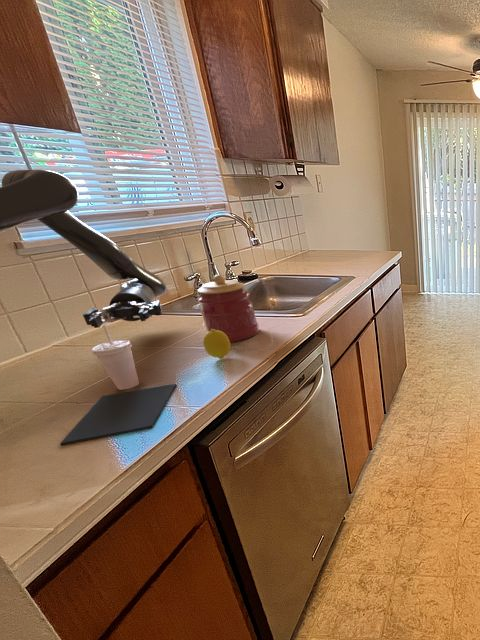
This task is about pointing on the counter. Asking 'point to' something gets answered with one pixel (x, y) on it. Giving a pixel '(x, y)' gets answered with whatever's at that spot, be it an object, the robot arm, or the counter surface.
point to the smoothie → (117, 361)
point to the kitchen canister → (228, 308)
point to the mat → (121, 414)
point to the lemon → (216, 343)
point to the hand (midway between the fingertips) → (118, 320)
